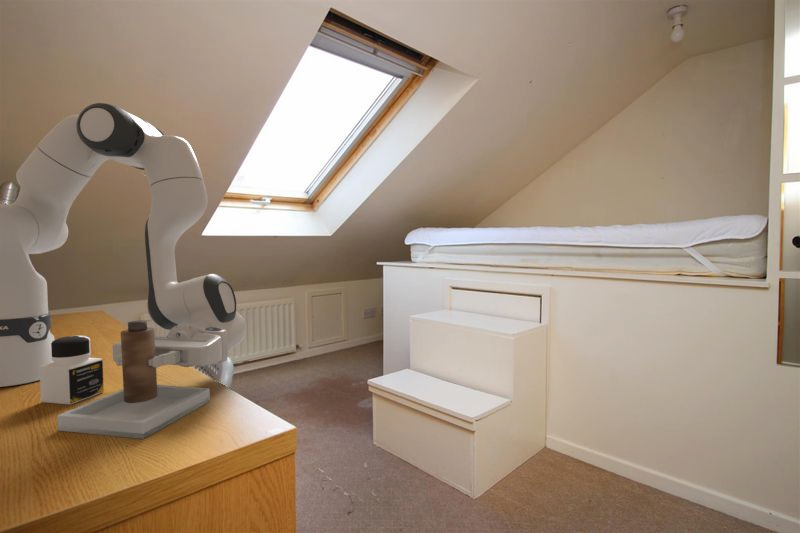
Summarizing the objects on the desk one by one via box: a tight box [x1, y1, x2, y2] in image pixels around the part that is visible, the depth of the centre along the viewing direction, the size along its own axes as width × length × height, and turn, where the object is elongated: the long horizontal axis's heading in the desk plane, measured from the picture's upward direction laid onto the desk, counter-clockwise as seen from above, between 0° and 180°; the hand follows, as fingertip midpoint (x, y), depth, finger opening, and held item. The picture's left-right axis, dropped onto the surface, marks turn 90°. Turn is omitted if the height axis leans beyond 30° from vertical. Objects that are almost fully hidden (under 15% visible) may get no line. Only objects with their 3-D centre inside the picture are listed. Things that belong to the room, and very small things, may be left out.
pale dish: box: [57, 384, 211, 440], centre depth 74 cm, size 16×16×2 cm
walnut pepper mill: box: [120, 319, 158, 403], centre depth 73 cm, size 5×5×14 cm
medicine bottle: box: [39, 335, 105, 406], centre depth 82 cm, size 7×7×12 cm
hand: (135, 362), depth 73 cm, fingers closed on walnut pepper mill, 5 cm apart
